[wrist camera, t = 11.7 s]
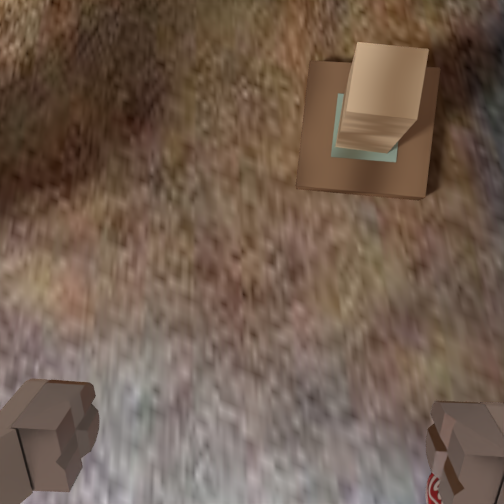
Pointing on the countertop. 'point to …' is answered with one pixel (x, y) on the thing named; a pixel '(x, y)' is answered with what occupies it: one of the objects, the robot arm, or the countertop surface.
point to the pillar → (381, 96)
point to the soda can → (433, 490)
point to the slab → (358, 161)
